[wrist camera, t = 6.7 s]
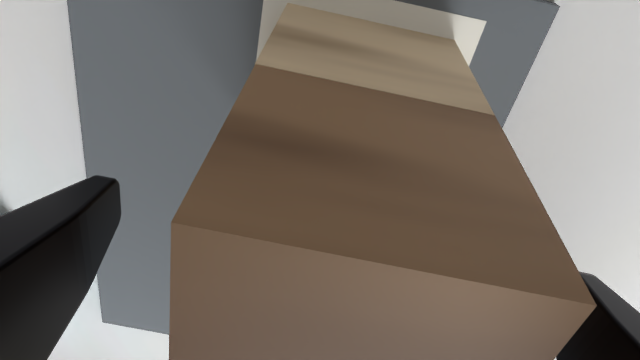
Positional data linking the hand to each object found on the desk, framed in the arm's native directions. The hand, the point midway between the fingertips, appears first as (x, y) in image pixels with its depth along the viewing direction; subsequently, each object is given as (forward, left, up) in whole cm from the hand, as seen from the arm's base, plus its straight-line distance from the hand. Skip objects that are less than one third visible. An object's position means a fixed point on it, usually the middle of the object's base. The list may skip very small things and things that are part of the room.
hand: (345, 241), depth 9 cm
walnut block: (0, 0, -2) cm, 2 cm away
